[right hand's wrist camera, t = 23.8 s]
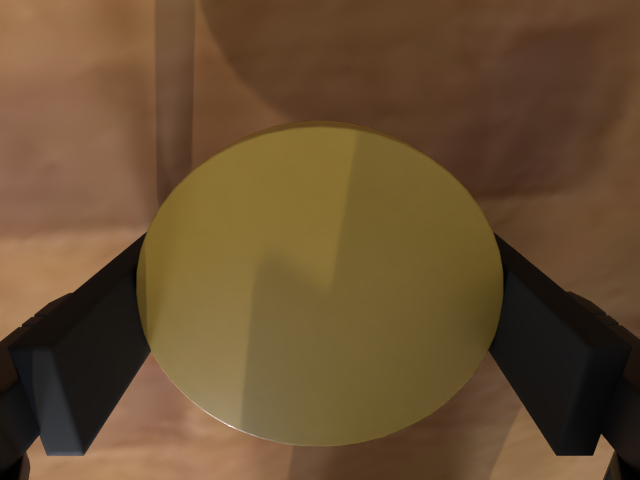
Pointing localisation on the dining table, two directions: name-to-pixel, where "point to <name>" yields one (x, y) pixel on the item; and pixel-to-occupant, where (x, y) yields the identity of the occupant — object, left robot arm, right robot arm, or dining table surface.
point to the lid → (319, 284)
